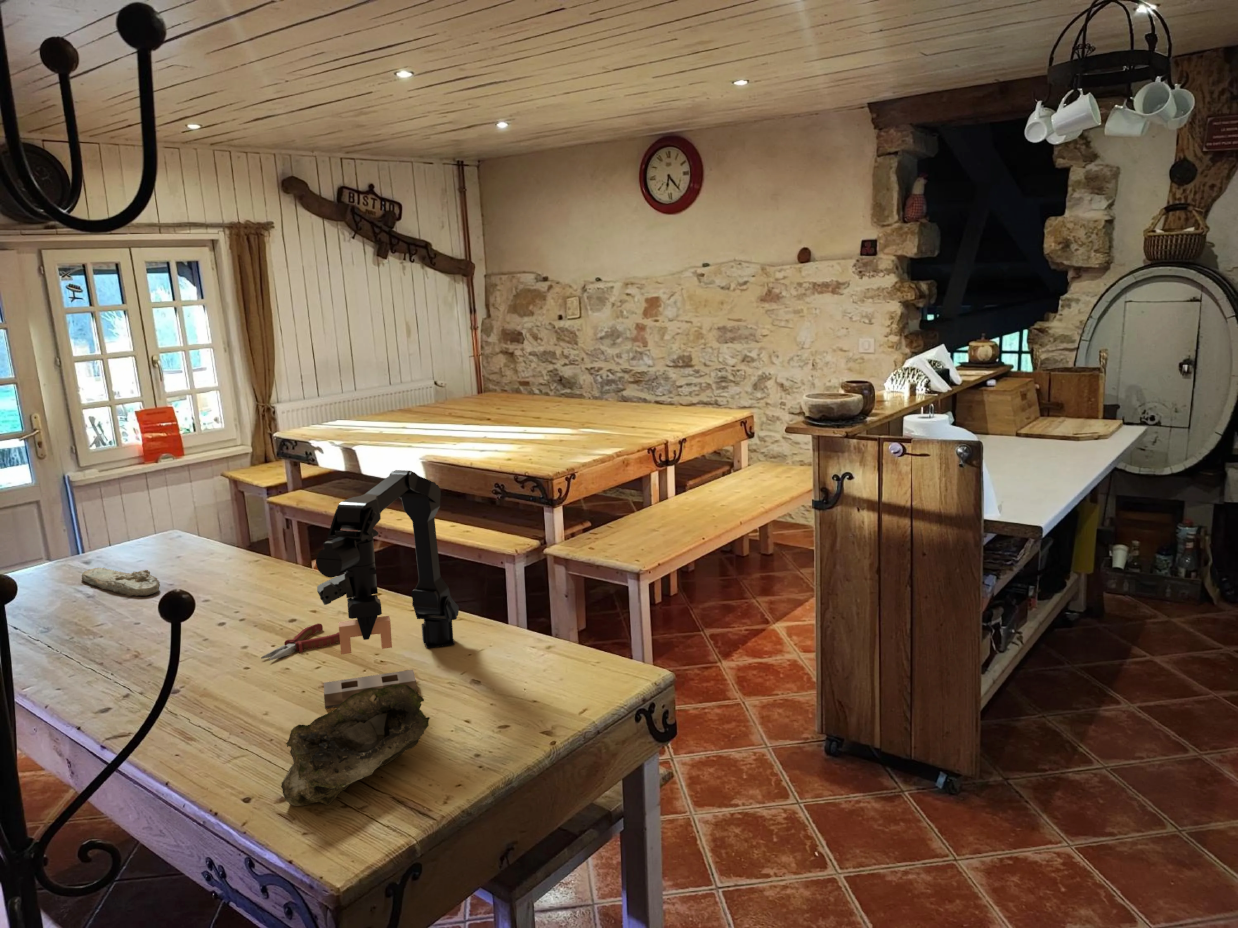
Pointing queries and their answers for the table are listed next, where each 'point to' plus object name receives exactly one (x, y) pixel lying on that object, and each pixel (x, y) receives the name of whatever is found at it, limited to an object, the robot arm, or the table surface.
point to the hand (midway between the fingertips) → (365, 636)
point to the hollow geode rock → (352, 742)
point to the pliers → (303, 642)
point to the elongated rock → (122, 581)
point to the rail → (364, 685)
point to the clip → (353, 630)
